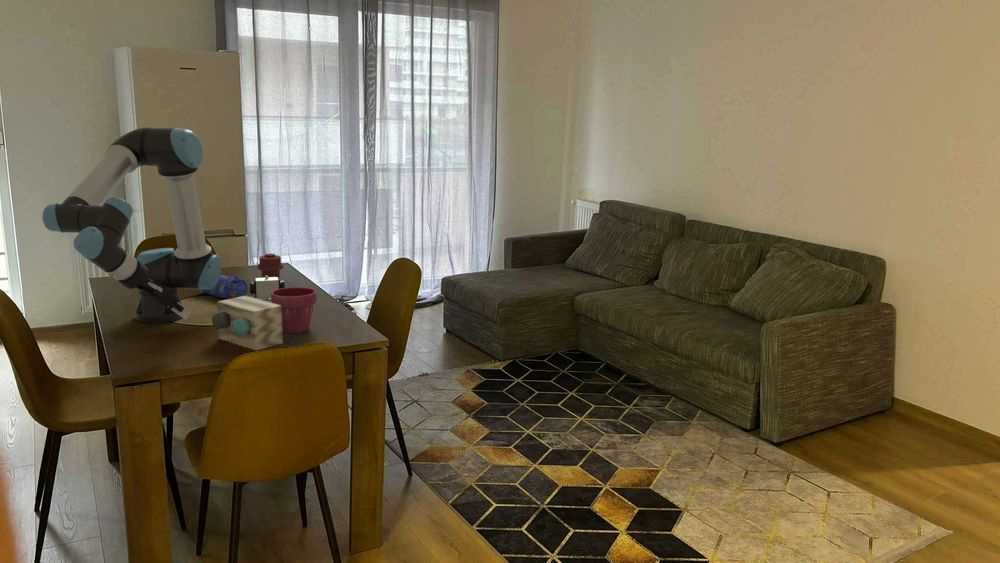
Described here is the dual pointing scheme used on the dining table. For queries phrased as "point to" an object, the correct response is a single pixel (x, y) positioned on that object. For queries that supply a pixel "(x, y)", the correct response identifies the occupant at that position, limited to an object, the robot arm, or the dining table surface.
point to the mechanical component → (270, 265)
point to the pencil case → (228, 287)
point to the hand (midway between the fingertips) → (187, 315)
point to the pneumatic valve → (265, 287)
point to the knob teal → (241, 326)
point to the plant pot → (295, 307)
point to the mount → (253, 322)
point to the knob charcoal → (221, 320)
